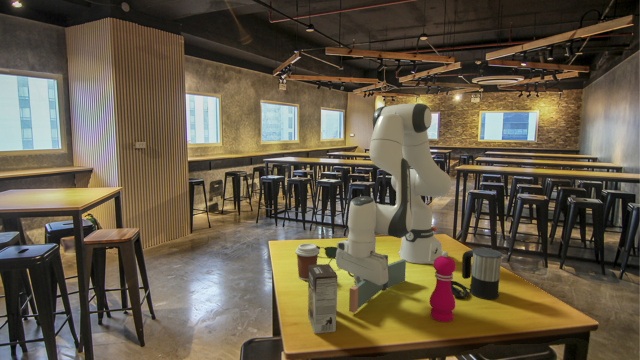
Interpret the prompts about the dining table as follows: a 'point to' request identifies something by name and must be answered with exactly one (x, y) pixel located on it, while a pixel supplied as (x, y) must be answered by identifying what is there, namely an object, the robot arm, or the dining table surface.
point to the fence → (395, 273)
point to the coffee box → (322, 298)
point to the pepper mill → (443, 289)
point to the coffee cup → (306, 258)
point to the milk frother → (480, 273)
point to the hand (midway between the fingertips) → (360, 288)
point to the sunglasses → (330, 251)
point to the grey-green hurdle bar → (362, 294)
